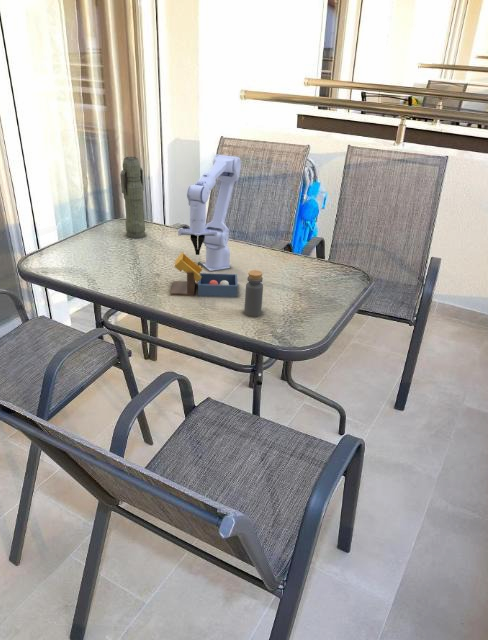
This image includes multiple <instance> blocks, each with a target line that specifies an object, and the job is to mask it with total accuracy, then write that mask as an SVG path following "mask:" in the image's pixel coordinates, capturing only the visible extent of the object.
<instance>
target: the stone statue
mask: <svg viewBox="0 0 488 640" xmlns="http://www.w3.org/2000/svg"><path fill="white" fill-rule="evenodd" d="M119 174H120V184H121V185H120V186H121V187H120V188H121V193H122V195H123V199H124V207H125V222H124V223H125V231H126V237H127V238H130V239H141V238H144V237H145V236H146V221H145V218H144V205H143V204H144V203H143V199H144V191H145V187H144V170H143V168H142V167H141V164H140V161H139V158H137V157H136V156H125V157H124V158H123V161H122V170H121V171H120V173H119Z"/></svg>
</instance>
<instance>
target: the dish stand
mask: <svg viewBox="0 0 488 640" xmlns="http://www.w3.org/2000/svg"><path fill="white" fill-rule="evenodd" d="M193 262H194V263H196V262H195V261H193ZM195 291H196V281H195V280H194V272H187V273H186V281H183V280H182V281H181V280H180V281H179V280H173V282H172V287H171V292H170V295H171V296H190V297H191V296H192V297H194V296H195Z"/></svg>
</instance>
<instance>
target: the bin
mask: <svg viewBox="0 0 488 640" xmlns="http://www.w3.org/2000/svg"><path fill="white" fill-rule="evenodd" d="M199 275H200V276H201V277H202V278H201V279H200V280H199V281H198V282H197V296H198V297H216V298H217V297H219V298H237V297H238V286H239V285H238V274H237V273H209V272H200V273H199ZM212 280H215V281H217V282H218V285H209V282H210V281H212ZM223 280H226V281H228V283H229V285H220V282H221V281H223Z"/></svg>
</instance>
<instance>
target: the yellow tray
mask: <svg viewBox="0 0 488 640" xmlns="http://www.w3.org/2000/svg"><path fill="white" fill-rule="evenodd" d="M194 262H195V261H193V260H192V259H191V258H190V257H189V256H187V255H186V254H185V252H184V251H182V252H180V253H179V255H178V256H177V258H176V259H175V261H174V265H173V266H174V268H175V269H177V270H178V271H179V272H182V271H183V272H184V273H186V274H187V272H194V280H195V282H196V283H198V282H199V280H200V279H201V278H202V277H201V276H200V275H199V273H202V271H203V267H204V266H203V265H202V264H203V263H201V261H198V262H197V263H196V262H195V263H194Z"/></svg>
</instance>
